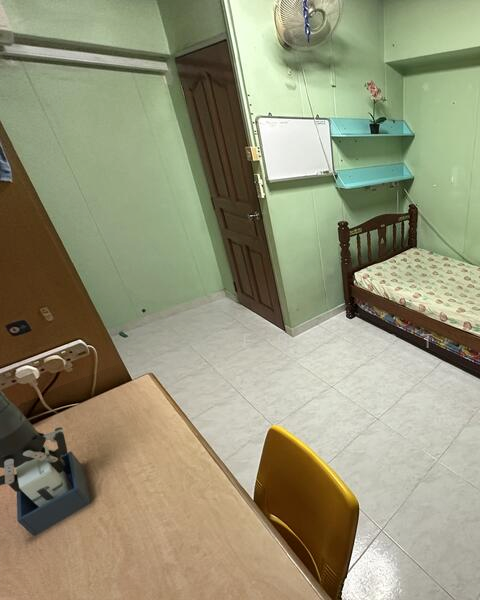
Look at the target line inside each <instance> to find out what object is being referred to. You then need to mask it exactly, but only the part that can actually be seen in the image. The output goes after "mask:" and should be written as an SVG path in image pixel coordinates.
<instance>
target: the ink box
mask: <svg viewBox="0 0 480 600" xmlns="http://www.w3.org/2000/svg"><path fill="white" fill-rule="evenodd" d="M15 472H16V474H17V478H18V484H19V488H20V489H21V490H22V491H23V492H24V493H25V494H26V495H27V496H28V497H29V498H30V499H31V500H32V501H33V502H34V503H35V504H36V505H38V506H39V507H41V506H42V505H44V504H46V503H48V502H50V501H52V500H53V499H55V498H57V497H59V496H61V495H62V494H64V493H66V492H68V491H70V490H72V489H73V485H72V482H71V479H70V478H69V477H68V475H67V474H66V473H65V472H64V471H63V472H61V473H58V472H57V471H56V470H55V469H54V468H53V466H52V465H51V463H50V462H48V461H45V460H43V461H41V460H38V459H33V460H31V461H28V462H25V463H23V464H22V465H20V466H18V467H16V468H15Z"/></svg>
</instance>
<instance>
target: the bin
mask: <svg viewBox="0 0 480 600" xmlns="http://www.w3.org/2000/svg"><path fill="white" fill-rule="evenodd" d="M61 459H62V460H63V461H64V463H65V468H64V469H63V471H64V472H65V473H66V474H67V475H68V477H69V478H70V479H71V482H72V485H73V489H72V490H70V491H68V492H66V493H64V494H62V495H61V496H59V497H57V498H55V499H53V500H52V501H50V502H48V503H46V504H44V505H42V506H41V507H39V506H38V505H36V504H35V503H34V502H33V501H32V500H31V499H30V498H29V497H28V496H27V495H26V494H25V493H24V492H21V491H19V492H16V520H17V523H18V524H20V525H21V526H22V527H23V528H24V529H25V530H26V531H27V532H28V533H30V534H31V535H32V536H33V537H36V536H38V535H39V534H41V533H43V532H45V531H46V530H48V529H49V528H51V527H53V526H55V525H56V524H58V523H60V522H61V521H63V520H65V519H66V518H68V517H70V516H72V515H74V514H75V513H77V512H78V511H80V510H81V509H84V508H86V507H87V506H89V505H90V504H92V502H91V495H90V492H89V487H88V483H87V479H86V474H85V469H84V466H83V464H82V463H81V462H80V460H79V459H78V458H77V457H76V456H75V454H74V453H73V451H67V454H65V455H62V456H61Z"/></svg>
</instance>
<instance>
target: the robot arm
mask: <svg viewBox="0 0 480 600" xmlns="http://www.w3.org/2000/svg"><path fill="white" fill-rule="evenodd" d="M64 433H65V432H64V429H63V427H59V426H58V427H56V428H55V429H54V431H51V432H48V433H43V432H39V431H38V430H37V429H36V428H35V427H34V425H33V424H32V423H31V421H30V420H29V419H28V418H27V417H26V415H25V414H24V413H23V412H22V411H21V410H20V408H19V407H18V406H16V405H15V403H13V402H11V401H10V399H9V398H8V396H6V394H5V393H4V392H3V391H2V390H1V389H0V469H4V470H3V471H4V474H3V475H0V486H4V485H6V486H7V485H8V486H9V487H10V488H11V489H12V490H13V491H14V492H16V493H17V492H19V491H21V492H23V491H22V490H21V489H20V488H19V484H18V478H17V473H15V469H16V467H18V466H20V465H22V464H23V463H25V462H28V461H31V460H33V459H38V460H41V461H43V460H45V461H48V462H50V463H51V465H52V466H53V468H54V469H55V470H56V471H57V472H58V473H61V472H63V469H64V468H65V463H64V461H63V460H62V459H61V456H62V455H65V454H67V453H68V447H67V442H66V438H65V434H64ZM46 441H50V442H51V443H56V445H57V448H56V449H55V450H54V449H52V448H49V447H48V446H47V445H45V443H46Z"/></svg>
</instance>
